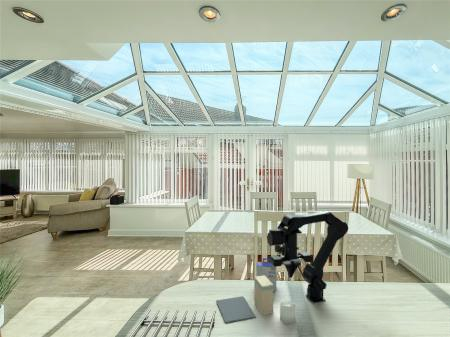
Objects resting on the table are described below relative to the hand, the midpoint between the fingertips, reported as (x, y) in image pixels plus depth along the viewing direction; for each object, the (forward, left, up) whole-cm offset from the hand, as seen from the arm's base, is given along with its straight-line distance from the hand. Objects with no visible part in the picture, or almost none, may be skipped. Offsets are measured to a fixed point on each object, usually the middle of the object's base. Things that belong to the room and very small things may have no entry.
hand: (290, 277), depth 117 cm
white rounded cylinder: (+7, +10, -12) cm, 17 cm away
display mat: (+26, -2, -12) cm, 28 cm away
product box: (+5, -15, -12) cm, 20 cm away
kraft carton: (+13, 0, -12) cm, 18 cm away
